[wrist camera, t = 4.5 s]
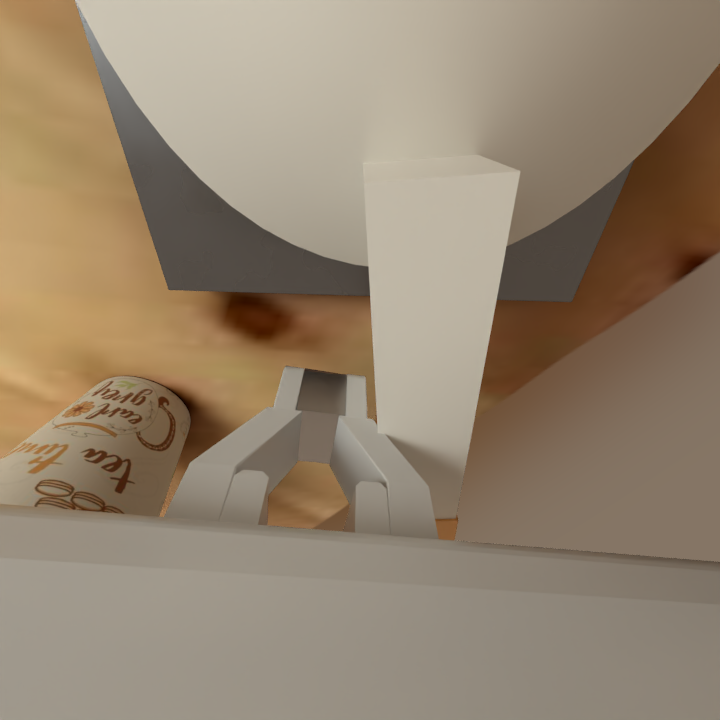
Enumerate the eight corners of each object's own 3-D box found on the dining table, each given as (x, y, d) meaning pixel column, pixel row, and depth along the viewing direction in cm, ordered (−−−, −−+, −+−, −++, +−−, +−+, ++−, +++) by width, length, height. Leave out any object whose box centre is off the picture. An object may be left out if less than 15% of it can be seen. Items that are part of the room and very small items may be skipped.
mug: (235, 417, 23) (166, 587, 15) (134, 486, 27) (39, 644, 19) (115, 334, 19) (-68, 503, 11) (21, 431, 23) (-156, 599, 15)
